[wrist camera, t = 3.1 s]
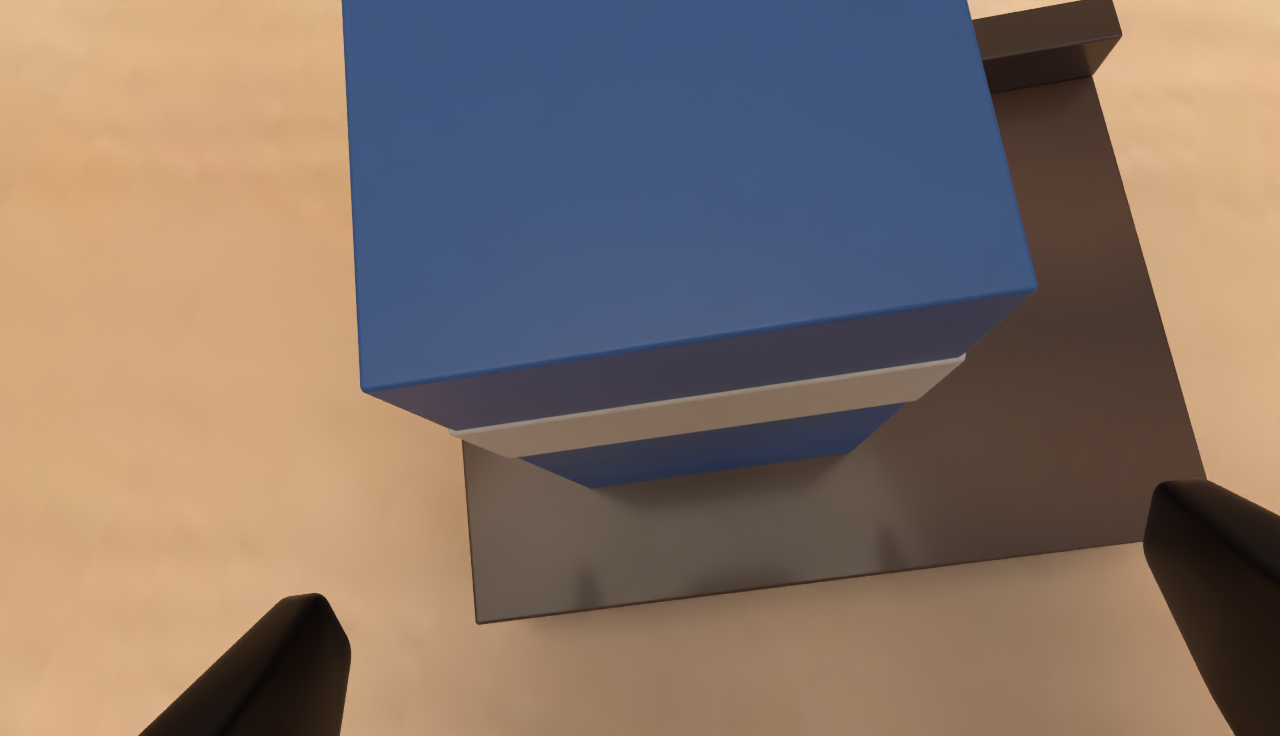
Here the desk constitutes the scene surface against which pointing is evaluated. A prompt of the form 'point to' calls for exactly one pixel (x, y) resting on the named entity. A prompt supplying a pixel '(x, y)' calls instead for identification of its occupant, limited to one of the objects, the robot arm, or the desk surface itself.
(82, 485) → the desk surface
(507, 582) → the shelf
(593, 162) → the box
